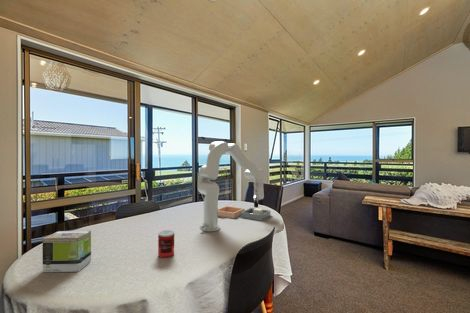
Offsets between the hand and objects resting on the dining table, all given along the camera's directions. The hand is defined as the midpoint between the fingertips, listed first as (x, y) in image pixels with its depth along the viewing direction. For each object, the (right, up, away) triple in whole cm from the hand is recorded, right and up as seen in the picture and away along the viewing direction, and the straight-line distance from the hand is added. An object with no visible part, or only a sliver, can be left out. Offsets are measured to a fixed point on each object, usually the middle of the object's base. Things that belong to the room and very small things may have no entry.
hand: (258, 206), depth 185 cm
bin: (-2, -9, +1) cm, 10 cm away
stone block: (-1, -9, 0) cm, 9 cm away
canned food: (-53, -10, -68) cm, 87 cm away
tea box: (-93, -10, -82) cm, 124 cm away
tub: (-23, -9, +7) cm, 26 cm away
